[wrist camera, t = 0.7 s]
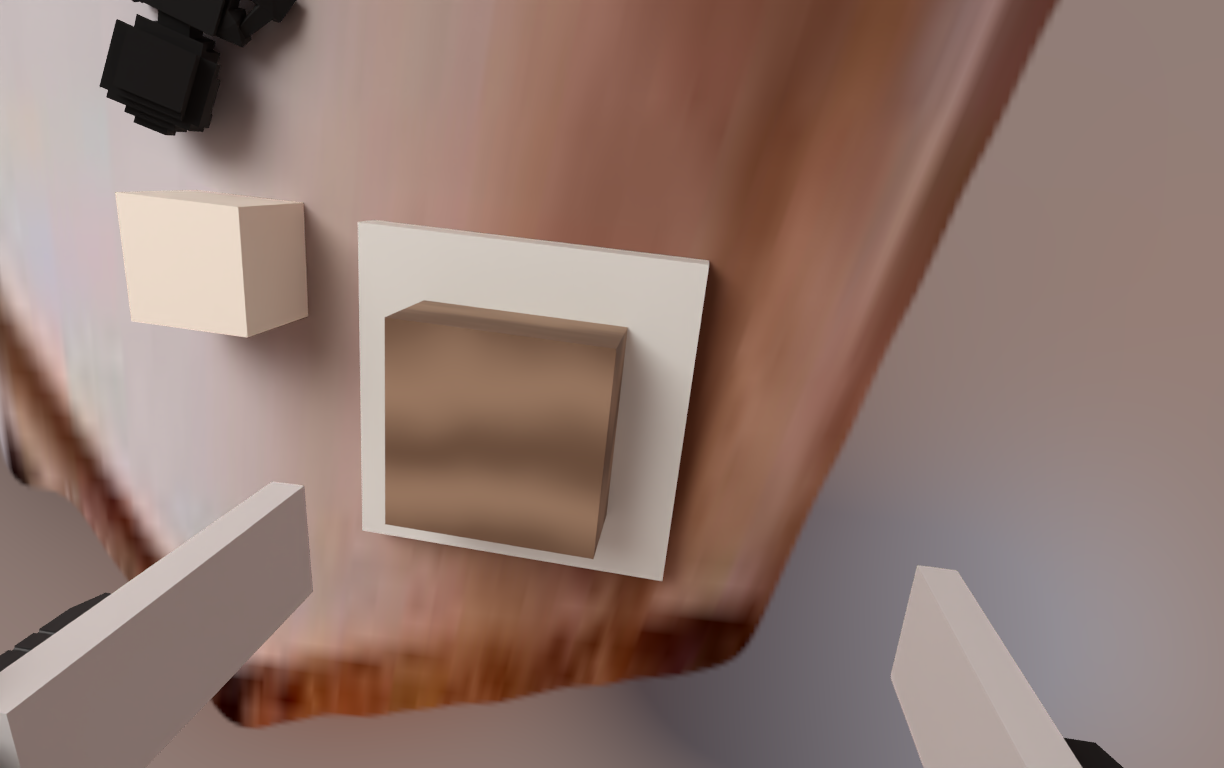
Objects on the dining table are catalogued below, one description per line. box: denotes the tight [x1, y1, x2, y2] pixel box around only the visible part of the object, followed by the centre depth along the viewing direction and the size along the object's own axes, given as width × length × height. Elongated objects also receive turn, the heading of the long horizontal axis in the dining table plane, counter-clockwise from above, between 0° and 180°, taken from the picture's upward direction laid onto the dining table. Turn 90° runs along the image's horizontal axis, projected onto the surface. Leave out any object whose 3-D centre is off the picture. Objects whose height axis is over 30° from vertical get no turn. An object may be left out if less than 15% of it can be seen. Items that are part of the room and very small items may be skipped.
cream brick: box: [115, 190, 308, 338], centre depth 39 cm, size 7×7×6 cm
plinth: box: [358, 220, 709, 581], centre depth 41 cm, size 20×20×2 cm
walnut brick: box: [385, 300, 628, 559], centre depth 38 cm, size 12×12×5 cm
